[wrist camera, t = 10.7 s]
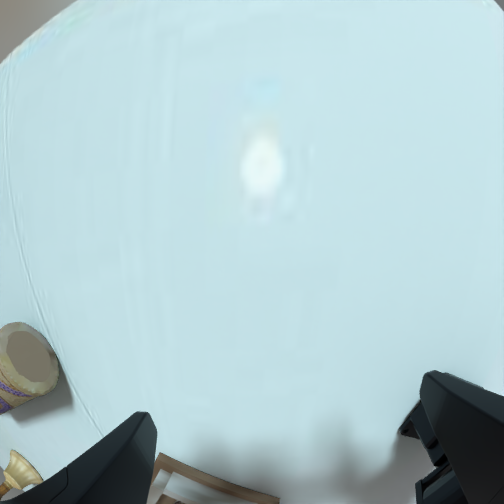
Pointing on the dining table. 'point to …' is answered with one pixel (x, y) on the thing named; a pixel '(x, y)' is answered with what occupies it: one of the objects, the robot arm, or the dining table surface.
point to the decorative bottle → (25, 365)
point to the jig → (197, 487)
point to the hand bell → (19, 474)
